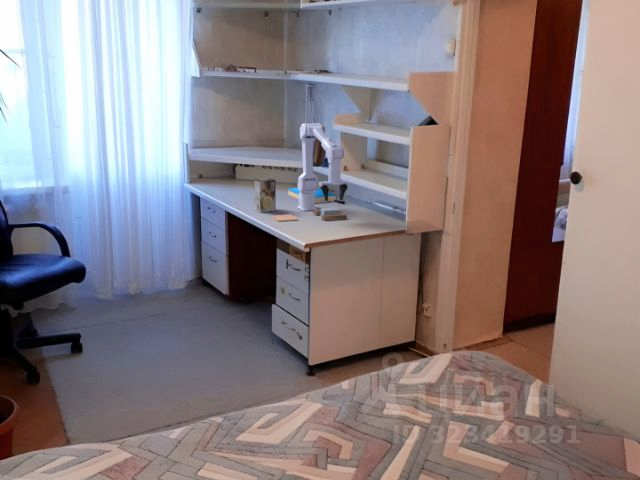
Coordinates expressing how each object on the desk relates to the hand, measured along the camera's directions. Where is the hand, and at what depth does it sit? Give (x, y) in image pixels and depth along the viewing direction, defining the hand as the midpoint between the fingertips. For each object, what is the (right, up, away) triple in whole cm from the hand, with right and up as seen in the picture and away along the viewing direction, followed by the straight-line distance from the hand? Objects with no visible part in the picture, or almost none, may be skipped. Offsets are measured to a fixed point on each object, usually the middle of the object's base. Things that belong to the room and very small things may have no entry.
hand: (333, 200), depth 320 cm
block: (-2, -8, +10) cm, 13 cm away
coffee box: (-35, -4, +19) cm, 39 cm away
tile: (-24, -9, +3) cm, 25 cm away
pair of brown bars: (-2, -7, +10) cm, 12 cm away
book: (-11, +4, +51) cm, 52 cm away
